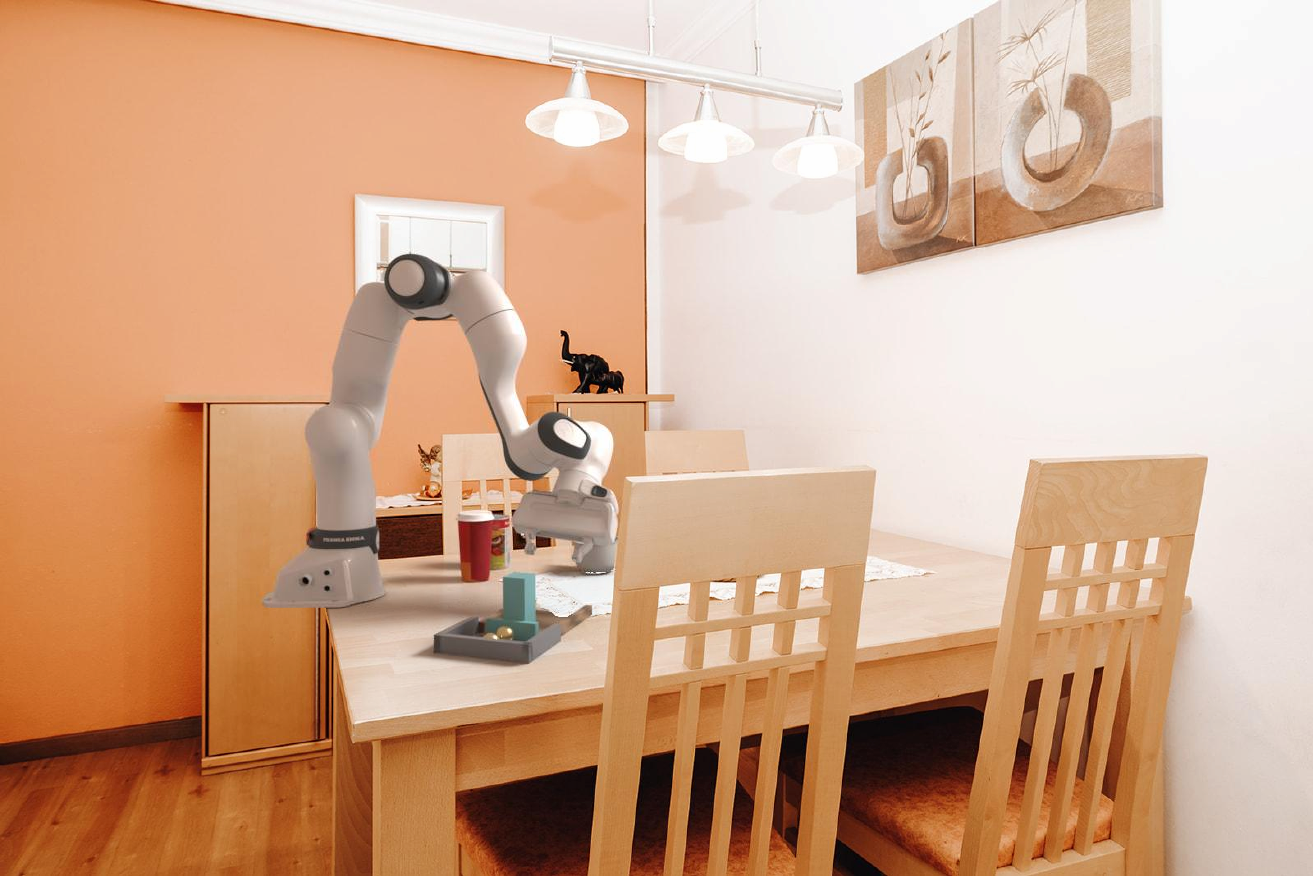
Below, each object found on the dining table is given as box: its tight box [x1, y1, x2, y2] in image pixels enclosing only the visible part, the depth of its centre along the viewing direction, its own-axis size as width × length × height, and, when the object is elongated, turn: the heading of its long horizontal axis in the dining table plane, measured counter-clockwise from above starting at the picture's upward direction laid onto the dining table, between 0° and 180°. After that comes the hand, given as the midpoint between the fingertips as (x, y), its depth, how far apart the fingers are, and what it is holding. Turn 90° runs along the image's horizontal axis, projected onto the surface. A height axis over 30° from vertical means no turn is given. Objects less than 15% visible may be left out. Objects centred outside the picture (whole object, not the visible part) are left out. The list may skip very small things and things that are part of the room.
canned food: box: [490, 514, 511, 571], centre depth 185 cm, size 8×8×12 cm
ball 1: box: [483, 633, 500, 639], centre depth 121 cm, size 3×3×3 cm
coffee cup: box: [455, 509, 494, 583], centre depth 171 cm, size 8×8×15 cm
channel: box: [479, 604, 593, 637], centre depth 136 cm, size 17×14×2 cm
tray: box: [433, 615, 562, 665], centre depth 124 cm, size 12×16×3 cm
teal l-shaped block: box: [486, 571, 539, 641], centre depth 130 cm, size 5×9×10 cm, turn 73°
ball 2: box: [496, 626, 514, 640], centre depth 124 cm, size 3×3×3 cm
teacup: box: [572, 535, 619, 573], centre depth 181 cm, size 14×11×8 cm
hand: (552, 557), depth 142 cm, fingers open, 8 cm apart
